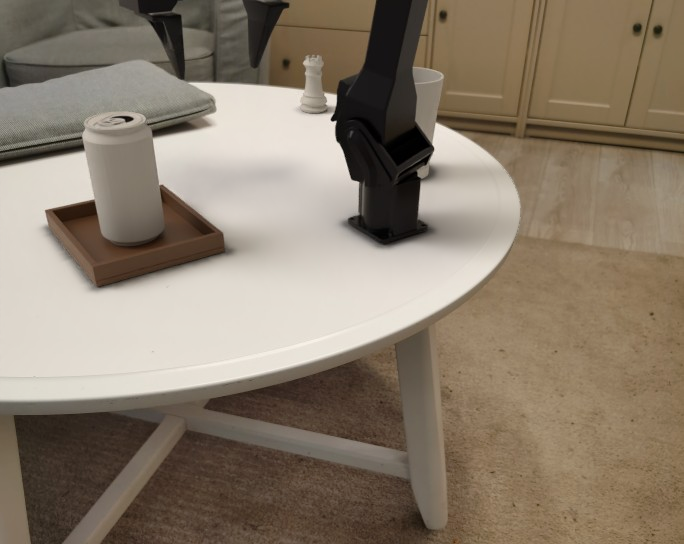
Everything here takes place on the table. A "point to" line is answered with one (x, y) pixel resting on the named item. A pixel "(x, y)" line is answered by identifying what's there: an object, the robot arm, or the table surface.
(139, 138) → the beverage can
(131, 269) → the tray
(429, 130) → the cup
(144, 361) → the table surface
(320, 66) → the rook chess piece
